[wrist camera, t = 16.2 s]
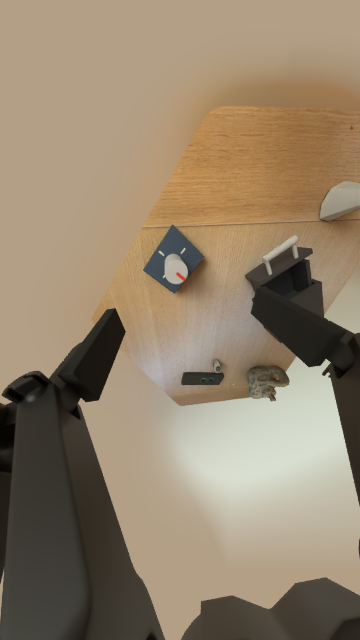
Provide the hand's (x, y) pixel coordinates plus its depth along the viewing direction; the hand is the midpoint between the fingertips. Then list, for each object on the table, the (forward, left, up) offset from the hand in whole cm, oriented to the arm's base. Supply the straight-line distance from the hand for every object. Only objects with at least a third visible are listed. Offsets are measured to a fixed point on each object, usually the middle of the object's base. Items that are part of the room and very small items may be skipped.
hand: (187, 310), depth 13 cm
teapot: (+55, +34, -27) cm, 70 cm away
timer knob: (0, 0, -24) cm, 24 cm away
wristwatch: (+45, +13, -27) cm, 54 cm away
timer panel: (0, 0, -27) cm, 27 cm away
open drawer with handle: (+7, +28, -26) cm, 39 cm away
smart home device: (+55, +7, -27) cm, 62 cm away
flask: (-8, +40, -27) cm, 49 cm away
